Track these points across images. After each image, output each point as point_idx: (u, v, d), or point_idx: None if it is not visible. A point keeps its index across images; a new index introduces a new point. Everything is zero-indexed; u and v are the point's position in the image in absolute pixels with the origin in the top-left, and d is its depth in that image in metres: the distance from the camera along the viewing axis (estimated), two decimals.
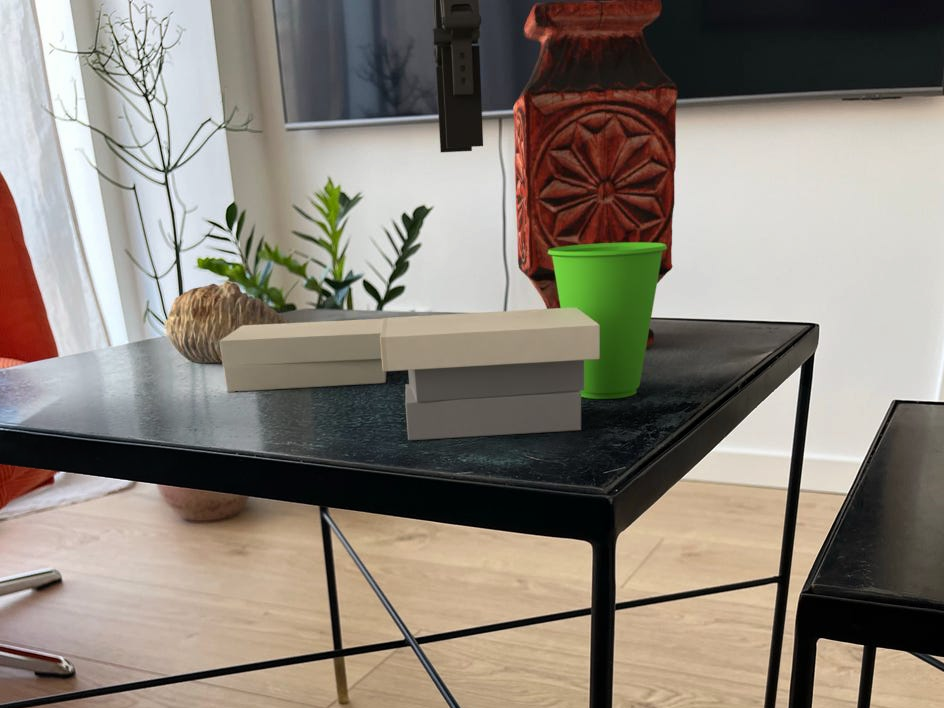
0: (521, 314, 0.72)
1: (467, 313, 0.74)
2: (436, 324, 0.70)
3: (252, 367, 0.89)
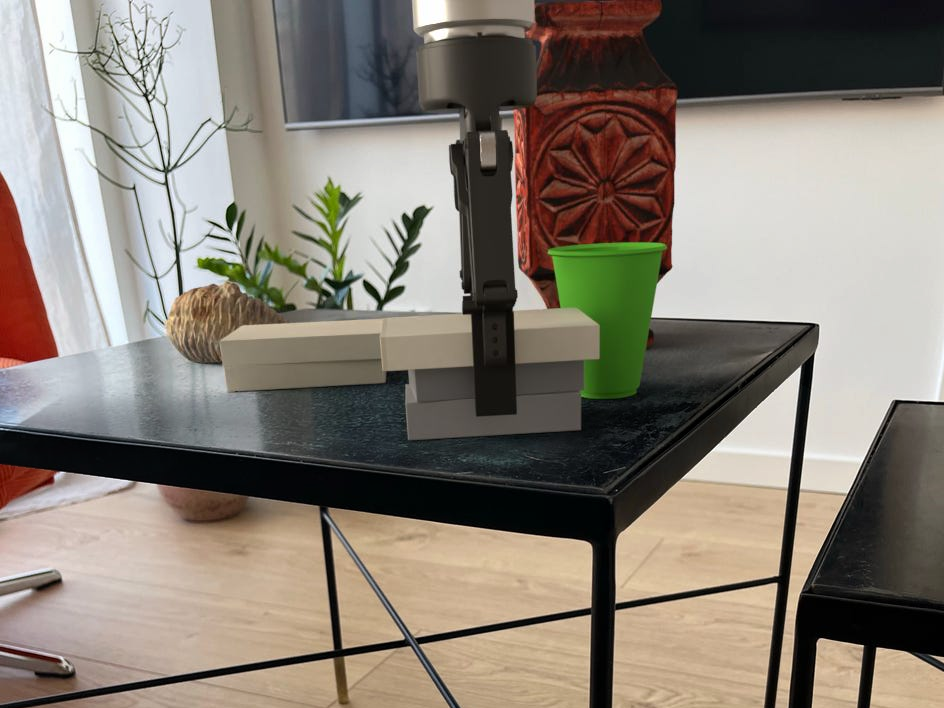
0: (521, 314, 0.72)
1: None
2: (436, 324, 0.70)
3: (252, 367, 0.89)
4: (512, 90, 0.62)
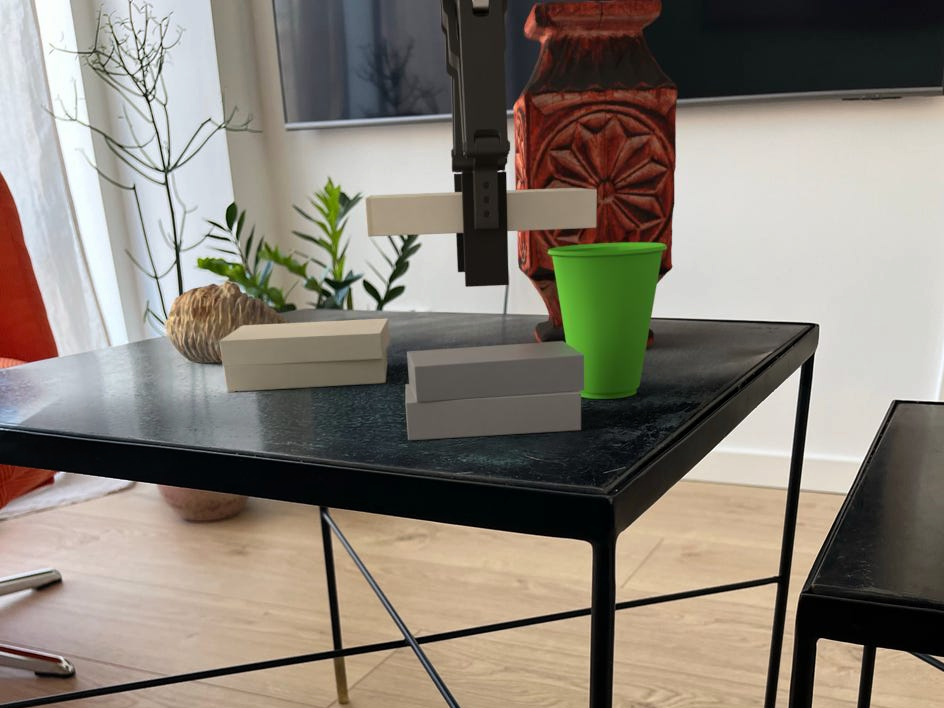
0: (515, 190, 0.69)
1: None
2: (425, 194, 0.66)
3: (252, 367, 0.89)
4: None
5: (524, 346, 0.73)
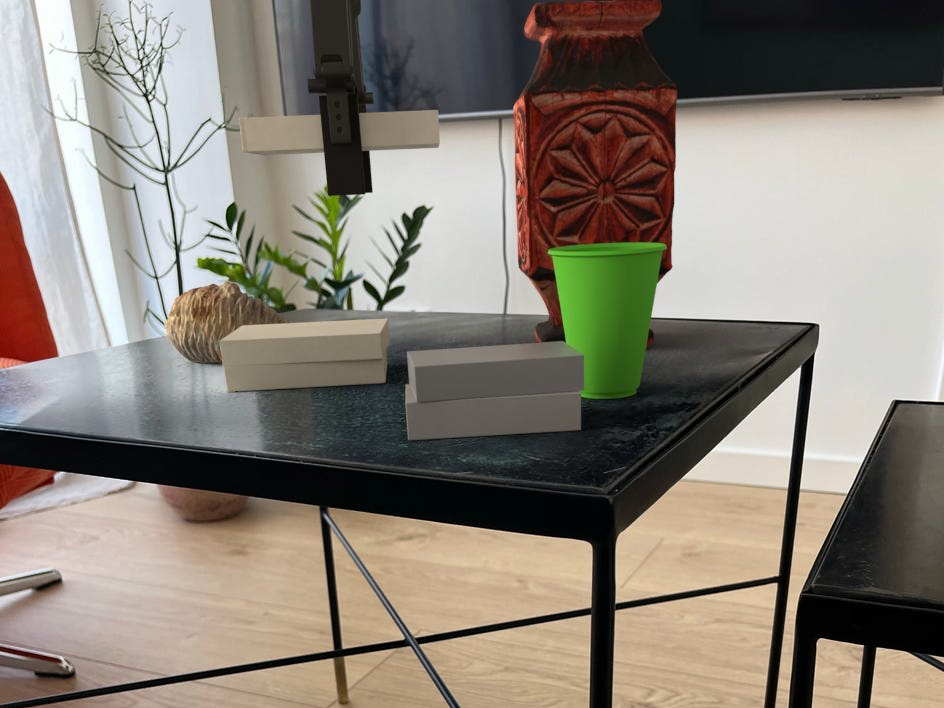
0: None
1: None
2: None
3: (252, 367, 0.89)
4: None
5: (524, 346, 0.73)
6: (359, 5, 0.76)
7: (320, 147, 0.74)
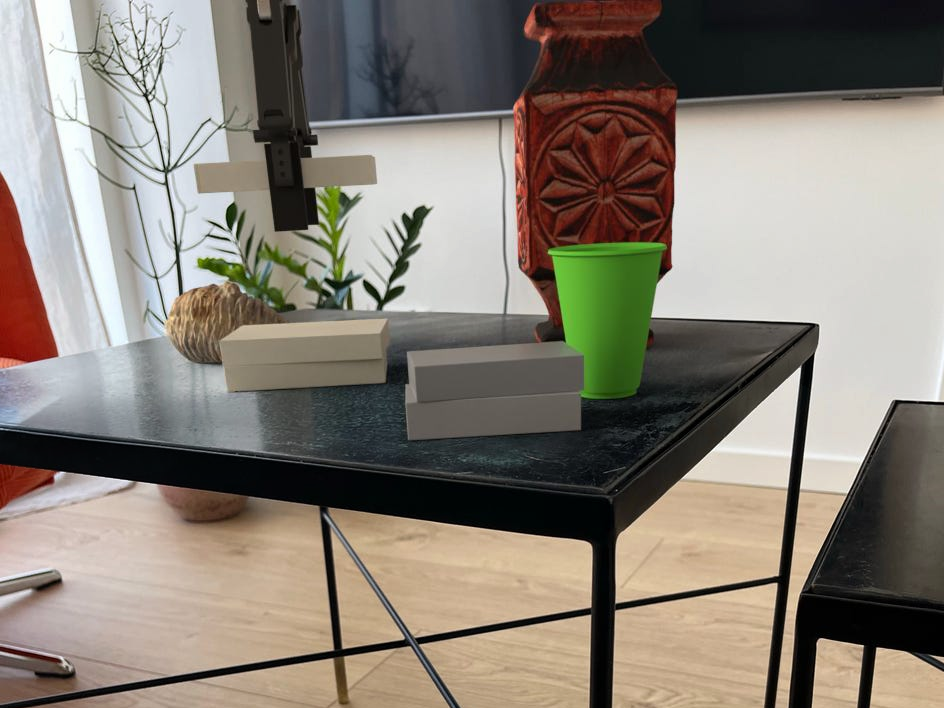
0: None
1: None
2: None
3: (252, 367, 0.89)
4: None
5: (524, 346, 0.73)
6: (301, 60, 0.85)
7: (267, 188, 0.83)
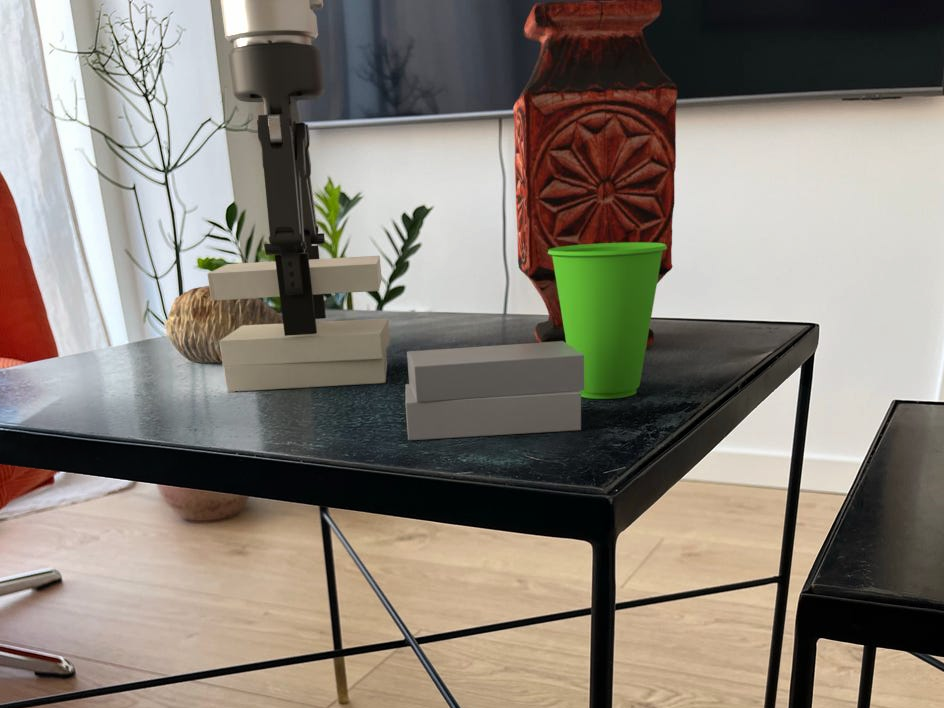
0: (331, 260, 0.93)
1: None
2: (259, 266, 0.90)
3: (252, 367, 0.89)
4: (298, 84, 0.82)
5: (524, 346, 0.73)
6: (309, 169, 0.89)
7: (277, 295, 0.87)
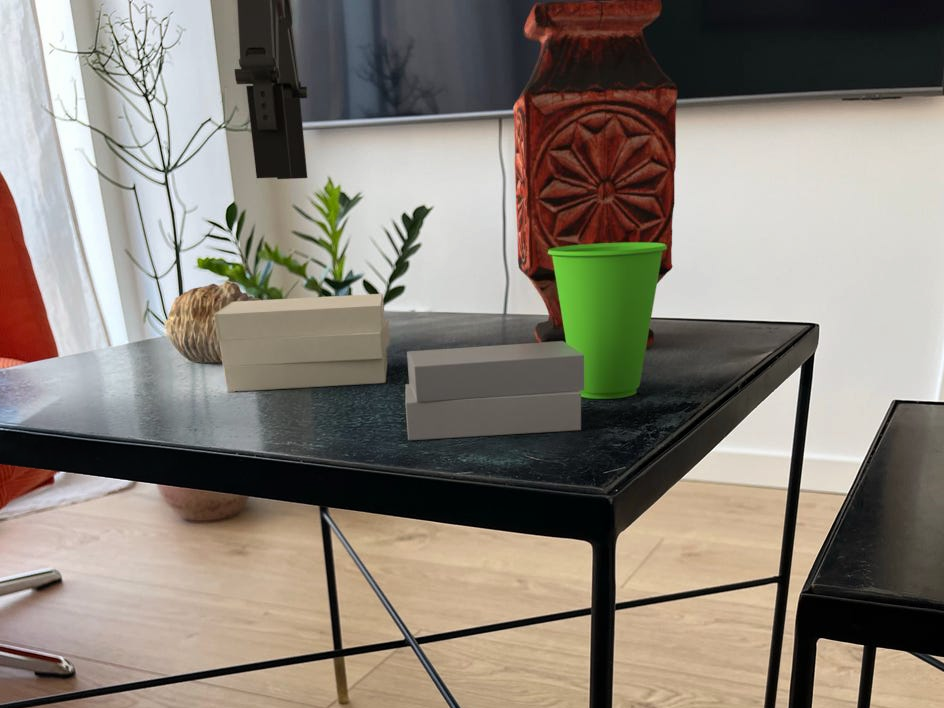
0: (335, 298, 0.94)
1: (297, 298, 0.96)
2: (264, 305, 0.91)
3: (252, 367, 0.89)
4: None
5: (524, 346, 0.73)
6: (290, 19, 0.85)
7: (282, 336, 0.88)
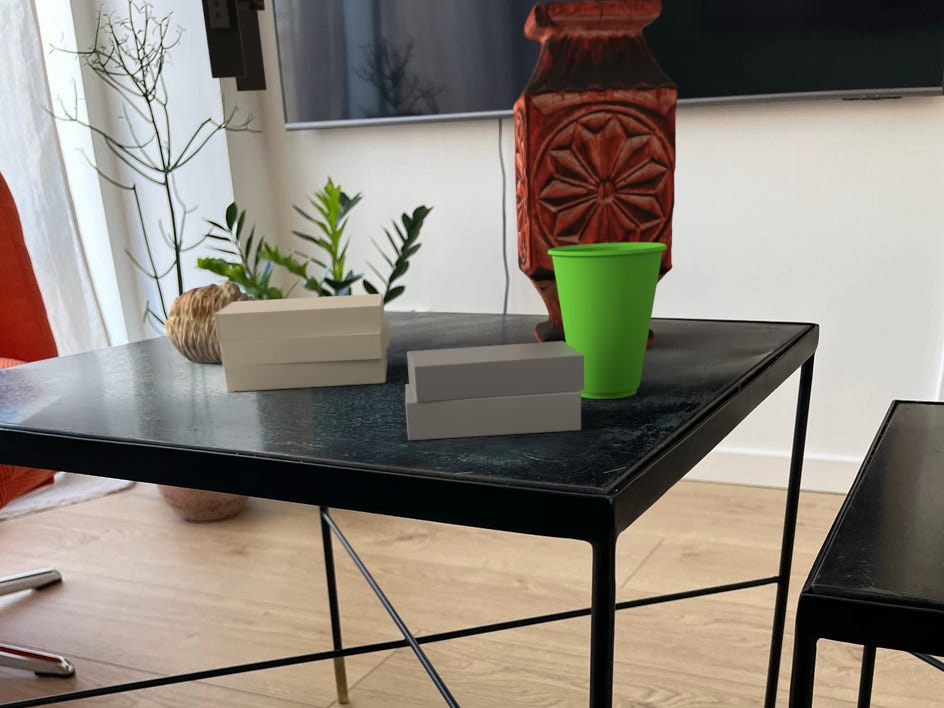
0: (335, 298, 0.94)
1: (297, 298, 0.96)
2: (264, 305, 0.91)
3: (252, 367, 0.89)
4: None
5: (524, 346, 0.73)
6: None
7: (282, 336, 0.88)
